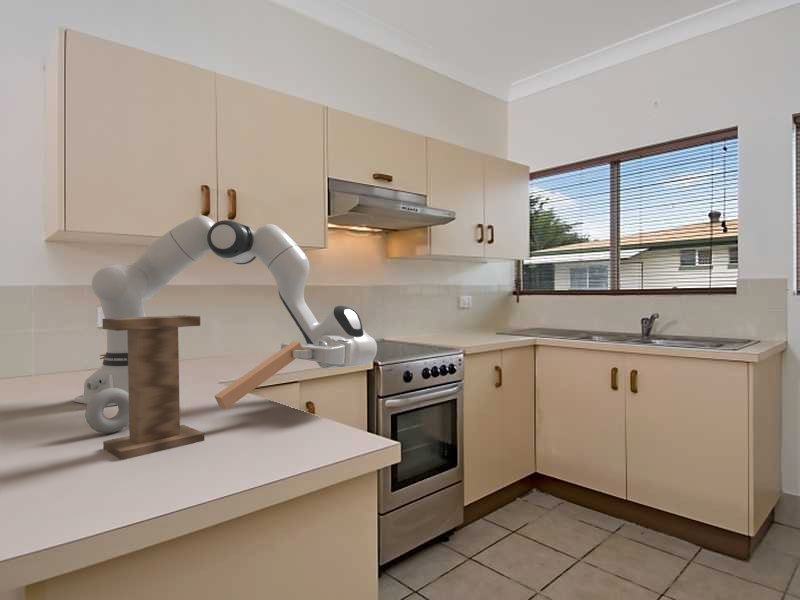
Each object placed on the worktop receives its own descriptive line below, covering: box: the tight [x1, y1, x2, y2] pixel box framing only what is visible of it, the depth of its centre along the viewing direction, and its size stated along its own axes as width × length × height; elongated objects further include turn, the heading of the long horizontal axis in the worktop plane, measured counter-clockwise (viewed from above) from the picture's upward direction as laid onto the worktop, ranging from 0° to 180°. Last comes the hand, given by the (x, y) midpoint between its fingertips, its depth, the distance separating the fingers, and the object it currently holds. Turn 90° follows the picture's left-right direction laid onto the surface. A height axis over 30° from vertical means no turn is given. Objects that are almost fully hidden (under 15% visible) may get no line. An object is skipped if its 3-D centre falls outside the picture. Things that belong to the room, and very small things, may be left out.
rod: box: [214, 341, 303, 410], centre depth 119 cm, size 24×3×3 cm, turn 138°
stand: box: [101, 314, 205, 461], centre depth 101 cm, size 16×10×26 cm, turn 137°
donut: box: [84, 388, 129, 434], centre depth 110 cm, size 10×4×10 cm, turn 141°
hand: (286, 353), depth 124 cm, fingers closed on rod, 3 cm apart
